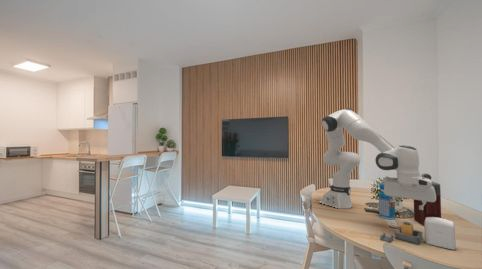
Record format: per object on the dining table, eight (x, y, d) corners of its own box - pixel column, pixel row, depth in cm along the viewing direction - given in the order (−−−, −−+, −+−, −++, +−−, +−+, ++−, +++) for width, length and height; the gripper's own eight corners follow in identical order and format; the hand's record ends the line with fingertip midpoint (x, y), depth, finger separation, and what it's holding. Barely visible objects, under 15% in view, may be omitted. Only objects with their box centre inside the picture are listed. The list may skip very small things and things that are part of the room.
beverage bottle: (379, 218, 133) (378, 185, 133) (378, 214, 140) (377, 182, 141) (396, 220, 129) (395, 186, 130) (394, 216, 137) (393, 183, 137)
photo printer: (424, 243, 101) (423, 216, 101) (425, 240, 104) (424, 214, 104) (456, 251, 94) (455, 222, 94) (455, 247, 97) (454, 219, 97)
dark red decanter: (425, 227, 119) (423, 175, 120) (413, 219, 130) (412, 172, 131) (444, 228, 117) (443, 175, 118) (431, 220, 128) (430, 172, 129)
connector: (401, 236, 106) (401, 222, 107) (403, 234, 109) (402, 220, 109) (411, 239, 104) (411, 225, 104) (413, 236, 106) (413, 222, 106)
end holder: (395, 238, 106) (395, 232, 106) (400, 232, 113) (399, 226, 113) (419, 245, 99) (418, 238, 99) (422, 238, 106) (422, 231, 106)
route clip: (380, 240, 105) (380, 235, 105) (383, 236, 108) (383, 232, 108) (390, 242, 102) (390, 238, 102) (393, 239, 105) (393, 235, 105)
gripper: (381, 177, 112) (382, 204, 112) (434, 182, 98) (435, 214, 98) (384, 175, 117) (385, 201, 117) (436, 180, 102) (437, 210, 102)
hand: (408, 207), depth 107 cm, fingers open, 8 cm apart
